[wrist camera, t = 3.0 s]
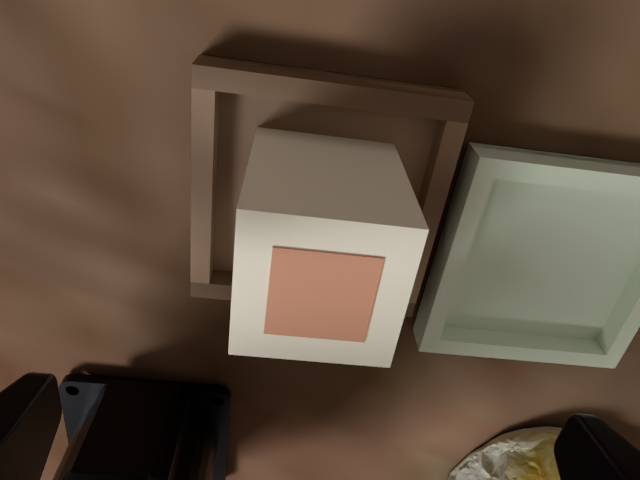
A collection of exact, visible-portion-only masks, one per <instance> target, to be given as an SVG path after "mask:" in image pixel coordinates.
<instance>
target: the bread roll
mask: <svg viewBox="0 0 640 480" xmlns="http://www.w3.org/2000/svg"><path fill="white" fill-rule="evenodd" d="M561 430H562V428H559V427H551V426H545V427H534V428H525V429H519V430H515V431H511V432H507V433H504V434H502V435H500V436H498V437H496V438H494V439H492V440H491V441H489V442H488V443H486V444H485V445H484V446H482V447H481V448H479V449H477V450H475V451H474V452H472V453H470V454H469V455H468V456H467V457H466V458H464V459H463V460H462V461H461V462H460V463H459V464H458V465H457V466H456V467H455V468H454V469H453V470H452V471H451V473H450V474H449V476H448V477H447V479H446V480H560V476H559V472H558V468H557V464H556V460H555V456H554V444H555V441H556V439H557V437H558V435H559V433H560V431H561Z"/></svg>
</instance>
